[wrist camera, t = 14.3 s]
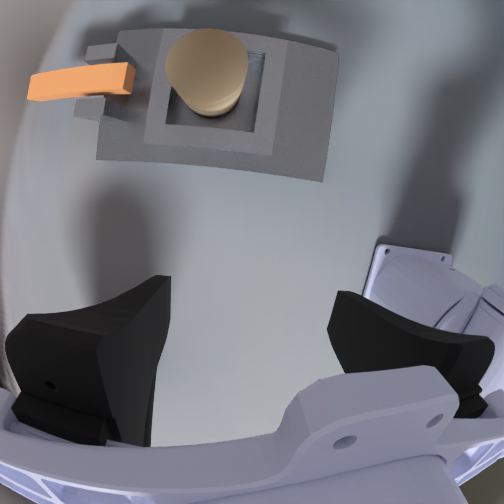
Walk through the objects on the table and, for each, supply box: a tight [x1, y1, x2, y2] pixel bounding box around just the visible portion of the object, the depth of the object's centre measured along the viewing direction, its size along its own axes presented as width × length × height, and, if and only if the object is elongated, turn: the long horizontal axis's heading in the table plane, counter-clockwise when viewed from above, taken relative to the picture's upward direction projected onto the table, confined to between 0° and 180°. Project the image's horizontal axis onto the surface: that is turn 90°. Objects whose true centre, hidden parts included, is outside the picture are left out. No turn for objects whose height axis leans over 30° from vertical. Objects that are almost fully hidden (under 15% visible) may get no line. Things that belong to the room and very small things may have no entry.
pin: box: [27, 62, 136, 101], centre depth 13 cm, size 7×2×2 cm, turn 82°
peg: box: [165, 28, 249, 119], centre depth 14 cm, size 4×4×7 cm
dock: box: [74, 28, 339, 182], centre depth 15 cm, size 16×10×5 cm, turn 82°
